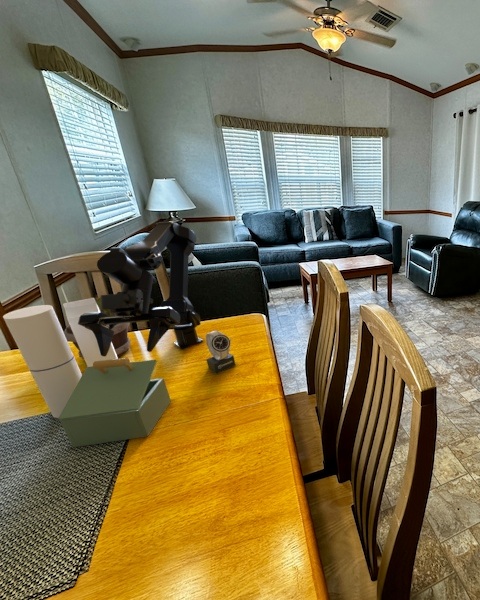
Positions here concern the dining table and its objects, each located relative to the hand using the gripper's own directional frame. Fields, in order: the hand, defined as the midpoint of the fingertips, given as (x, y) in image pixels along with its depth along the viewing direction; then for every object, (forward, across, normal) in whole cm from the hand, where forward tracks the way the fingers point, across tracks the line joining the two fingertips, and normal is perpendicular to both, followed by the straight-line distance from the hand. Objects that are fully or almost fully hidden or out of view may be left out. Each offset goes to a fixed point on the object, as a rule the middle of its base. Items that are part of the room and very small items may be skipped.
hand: (126, 353), depth 75 cm
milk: (-1, -15, +20) cm, 25 cm away
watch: (+1, +15, +18) cm, 23 cm away
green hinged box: (+15, 0, +4) cm, 15 cm away
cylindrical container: (+9, -15, +10) cm, 20 cm away
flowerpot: (-9, -22, +29) cm, 37 cm away
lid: (+8, 0, -3) cm, 9 cm away
